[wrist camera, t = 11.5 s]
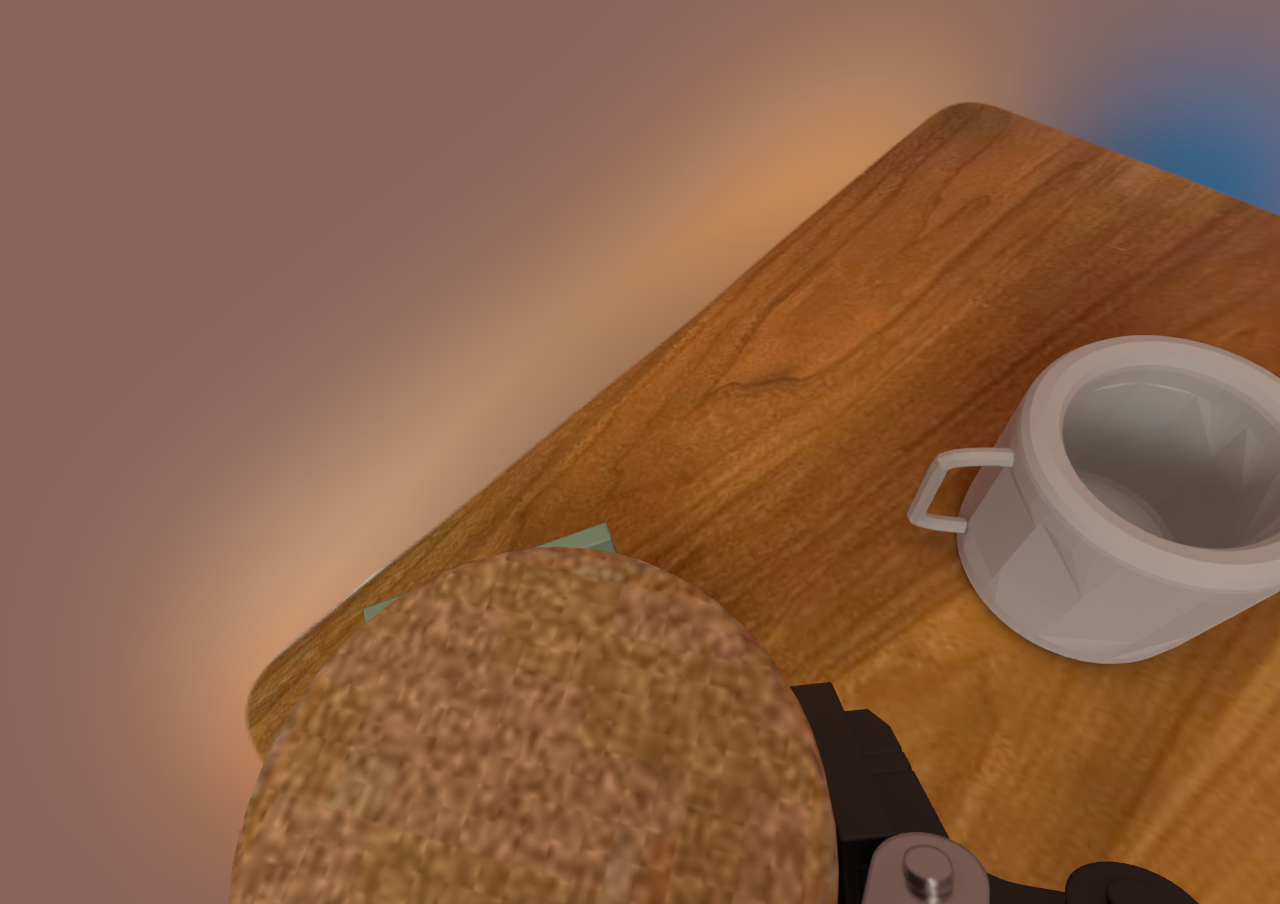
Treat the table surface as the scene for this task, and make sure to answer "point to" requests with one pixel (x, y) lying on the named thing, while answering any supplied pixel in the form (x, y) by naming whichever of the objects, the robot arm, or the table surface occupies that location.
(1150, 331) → the table surface
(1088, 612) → the mug
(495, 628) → the bottle
